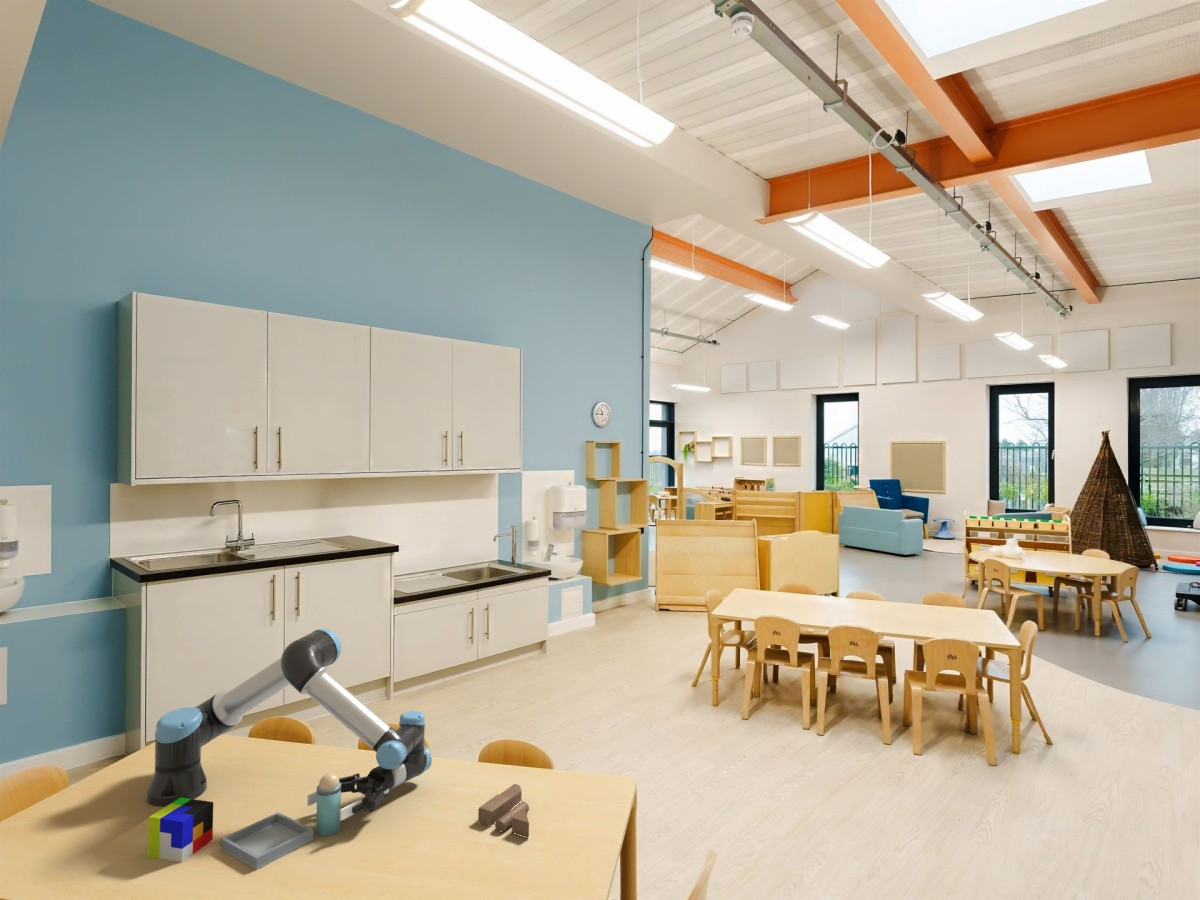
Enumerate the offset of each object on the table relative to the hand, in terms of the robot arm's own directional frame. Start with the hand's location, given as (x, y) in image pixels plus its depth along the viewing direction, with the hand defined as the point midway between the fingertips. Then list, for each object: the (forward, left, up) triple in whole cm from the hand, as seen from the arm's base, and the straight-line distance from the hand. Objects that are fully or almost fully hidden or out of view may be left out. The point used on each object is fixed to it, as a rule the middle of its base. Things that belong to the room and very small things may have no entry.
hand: (323, 807), depth 183 cm
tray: (-7, -11, -7) cm, 15 cm away
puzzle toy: (-24, -24, -7) cm, 35 cm away
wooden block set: (+39, +36, -8) cm, 53 cm away
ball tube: (0, +2, -7) cm, 7 cm away
